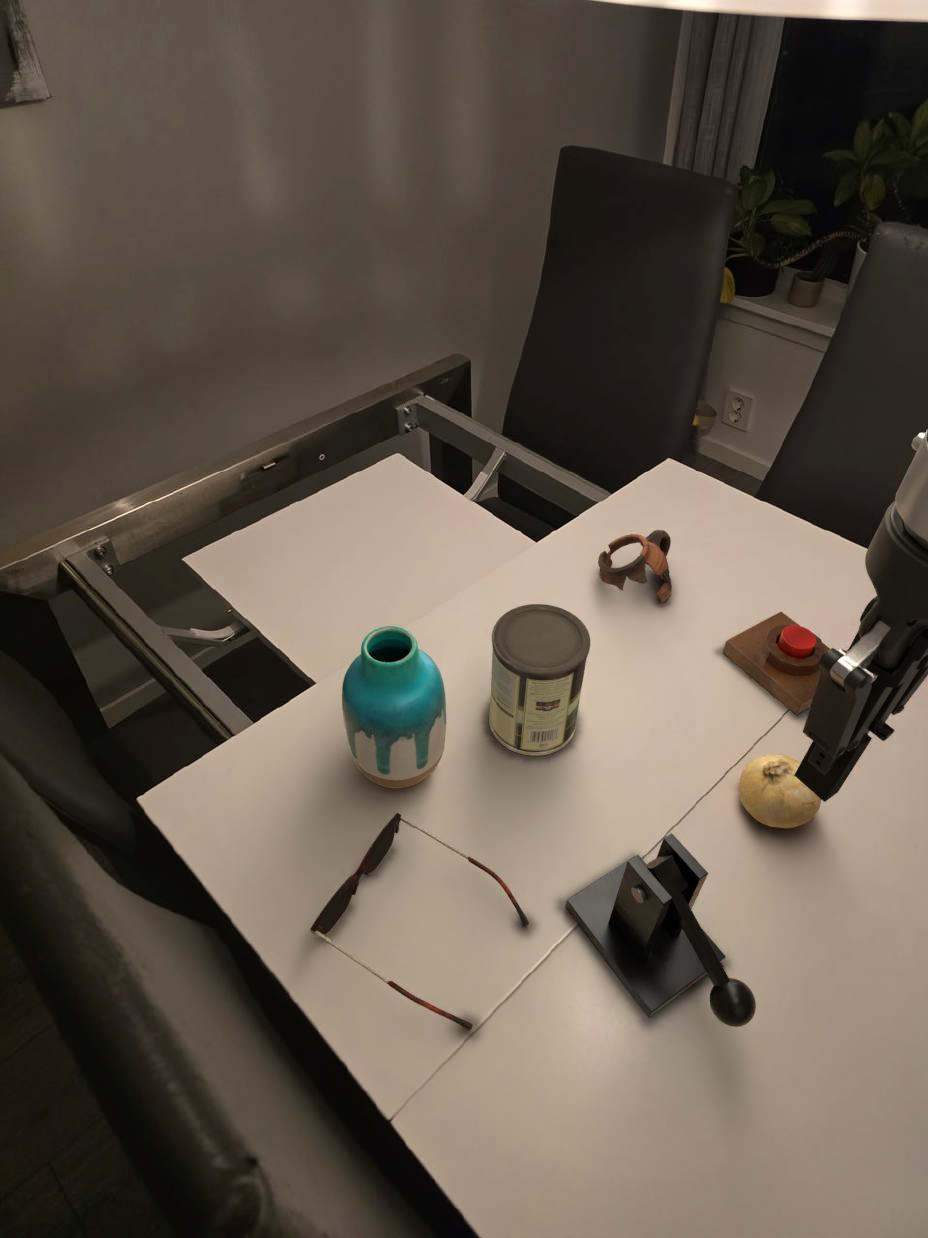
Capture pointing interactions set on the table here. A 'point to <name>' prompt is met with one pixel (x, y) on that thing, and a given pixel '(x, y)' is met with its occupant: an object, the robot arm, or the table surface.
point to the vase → (394, 709)
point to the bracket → (644, 927)
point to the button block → (777, 662)
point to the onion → (777, 792)
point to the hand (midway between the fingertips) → (815, 783)
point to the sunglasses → (368, 866)
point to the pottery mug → (639, 561)
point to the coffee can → (537, 678)
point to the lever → (705, 950)
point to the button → (796, 641)
